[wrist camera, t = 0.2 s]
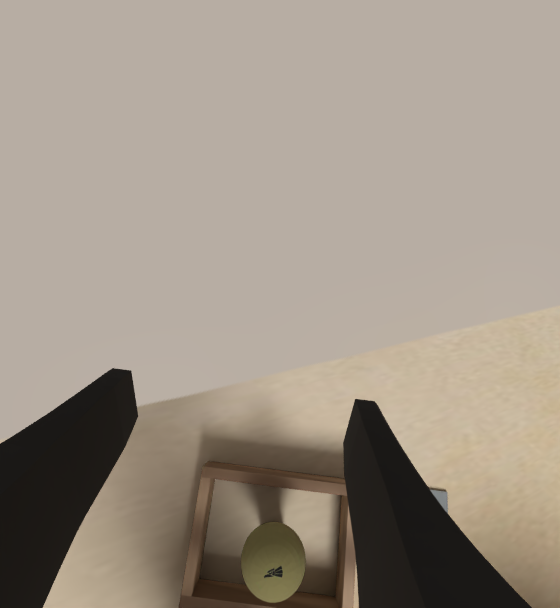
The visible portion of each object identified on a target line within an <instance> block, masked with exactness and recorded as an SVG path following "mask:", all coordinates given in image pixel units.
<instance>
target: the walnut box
mask: <svg viewBox="0 0 560 608" xmlns="http://www.w3.org/2000/svg"><path fill="white" fill-rule="evenodd" d="M215 479H219V480H227V481H235V482H242V483H250V484H258V485H266V486H274V487H282V488H289V489H297V490H305V491H313V492H321V493H328V494H336V495H342V497H341V514H340V530H339V546H338V562H337V579H336V595H335V597H334V596H327V595H319V594H311V593H304V592H296V591H295V592H294V593H293V595H291V596H290V597H289V598H287V599H286V600H283V601H281V602H276V603H270V602H266V601H262V600H261V599H259V598H257V597H256V596H255V595H254V594H253V593H252V592H251V591H250V590H249V588H248V587H247V585H243V584H236V583H228V582H220V581H213V580H205V579H199V577H200V570H201V564H202V558H203V551H204V545H205V539H206V532H207V526H208V520H209V513H210V507H211V500H212V494H213V488H214V481H215ZM355 563H356V556H355V548H354V541H353V534H352V527H351V520H350V513H349V506H348V498H347V491H346V484H345V479H344V478H336V477H328V476H320V475H312V474H304V473H296V472H289V471H281V470H273V469H265V468H257V467H249V466H241V465H234V464H226V463H218V462H210V461H208V462H207V463H206V464H205V465H204V466H203V467H202V473H201V479H200V485H199V491H198V496H197V502H196V508H195V514H194V520H193V526H192V532H191V538H190V544H189V550H188V556H187V562H186V568H185V574H184V580H183V586H182V592H181V598H180V604H179V608H353V603H354V583H355Z"/></svg>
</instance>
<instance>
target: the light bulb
mask: <svg viewBox="0 0 560 608" xmlns="http://www.w3.org/2000/svg"><path fill="white" fill-rule="evenodd" d="M305 566H306V558H305V551H304V547H303V544H302V542H301V540H300V538H299V536H298V535H297V534H296V533H295V531H294V530H292V529H291V528H290V527H289V526H287V525H285V524H283V523H280V522H268V523H264V524H262V525H260V526H259V527H257V528H256V529H255V530H254V531H253V532H252V533H251V534H250V535H249V537H248V538H247V540H246V542H245V544H244V547H243V551H242V555H241V569H242V575H243V578H244V581H245V583H246V585H247V587H248V588H249V590H250V591H251V592H252V593H253V594H254V595H255V596H256V597H257V598H259V599H261V600H262V601H266V602H270V603H276V602H281V601H283V600H286V599H287V598H289V597H290V596H291V595H293V593H294V592H295V591H296V590H297V589H298V587H299V586H300V584H301V582H302V579H303V576H304V572H305Z"/></svg>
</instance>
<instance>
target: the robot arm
mask: <svg viewBox="0 0 560 608" xmlns="http://www.w3.org/2000/svg"><path fill="white" fill-rule="evenodd" d="M137 418H138V412H137V406H136V399H135V393H134V386H133V380H132V373H131V371H129V370H122V369H114V368H113V369H111V370H109V371H108V372H107V373H105V374H104V375H102V376H101V377H99V378H98V379H97V380H95V381H94V382H92V383H91V384H90V385H88V386H87V387H85V388H84V389H83V390H81V391H80V392H78V393H77V394H76V395H74V396H73V397H71V398H70V399H68V400H67V401H66V402H64V403H63V404H61V405H60V406H58V407H57V408H56V409H54V410H53V411H51V412H50V413H48V414H47V415H45V416H44V417H42V418H40V419H39V420H37V421H36V422H34V423H33V424H31V425H29V426H28V427H26V428H25V429H23V430H22V431H20V432H19V433H17V434H15V435H14V436H12V437H11V438H9V439H7V440H6V441H4V442H2V443H1V444H0V608H43V605H44V603H45V601H46V599H47V596H48V594H49V592H50V590H51V587H52V585H53V583H54V581H55V578H56V576H57V574H58V571H59V569H60V567H61V565H62V563H63V561H64V558H65V556H66V554H67V552H68V550H69V548H70V546H71V543H72V541H73V539H74V537H75V535H76V533H77V531H78V529H79V527H80V525H81V523H82V521H83V520H84V518H85V516H86V514H87V512H88V511H89V509H90V507H91V505H92V504H93V502H94V500H95V498H96V497H97V495H98V493H99V492H100V490H101V488H102V486H103V485H104V483H105V481H106V479H107V478H108V476H109V474H110V473H111V471H112V469H113V467H114V466H115V464H116V462H117V460H118V458H119V457H120V455H121V453H122V451H123V450H124V448H125V446H126V444H127V441H128V439H129V437H130V435H131V432H132V430H133V427H134V425H135V422H136V420H137ZM343 447H344V476H345V484H346V491H347V498H348V506H349V513H350V520H351V527H352V534H353V541H354V548H355V556H356V565H357V578H358V596H359V608H532V607H531V606H530V605H529V604H528V603H527V602H526V601H525V600H524V599H523V598H522V597H521V596H520V595H519V594H518V593H517V592H516V591H515V590H514V589H513V588H512V587H511V586H510V585H509V584H508V583H507V582H506V580H505V579H504V578H503V577H502V576H501V575H500V574H499V573H498V572H497V571H496V570H495V569H494V567H493V566H492V565H491V564H490V563H489V562H488V561H487V560H486V559H485V558H484V557H483V555H482V554H481V553H480V552H479V551H478V550H477V549H476V547H475V546H474V545H473V544H472V543H471V542H470V540H469V539H468V538H467V537H466V536H465V534H464V533H463V532H462V531H461V530H460V528H459V527H458V526H457V525H456V523H455V522H454V521H453V520H452V518H451V517H450V516H449V515H448V513H447V512H446V511H445V509H444V508H443V507H442V506H441V504H440V503H439V502H438V500H437V499H436V497H435V496H434V495H433V493H432V492H431V491H430V489H429V488H428V486H427V485H426V483H425V482H424V481H423V479H422V478H421V476H420V475H419V473H418V472H417V470H416V469H415V467H414V466H413V464H412V463H411V461H410V460H409V458H408V456H407V455H406V453H405V452H404V450H403V449H402V447H401V445H400V444H399V442H398V440H397V439H396V437H395V435H394V434H393V432H392V430H391V429H390V427H389V425H388V423H387V422H386V420H385V418H384V416H383V414H382V413H381V411H380V409H379V407H378V405H377V404H376V403H375V401H367V400H359V399H355V402H354V406H353V409H352V413H351V417H350V420H349V424H348V428H347V431H346V435H345V439H344V442H343Z"/></svg>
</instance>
